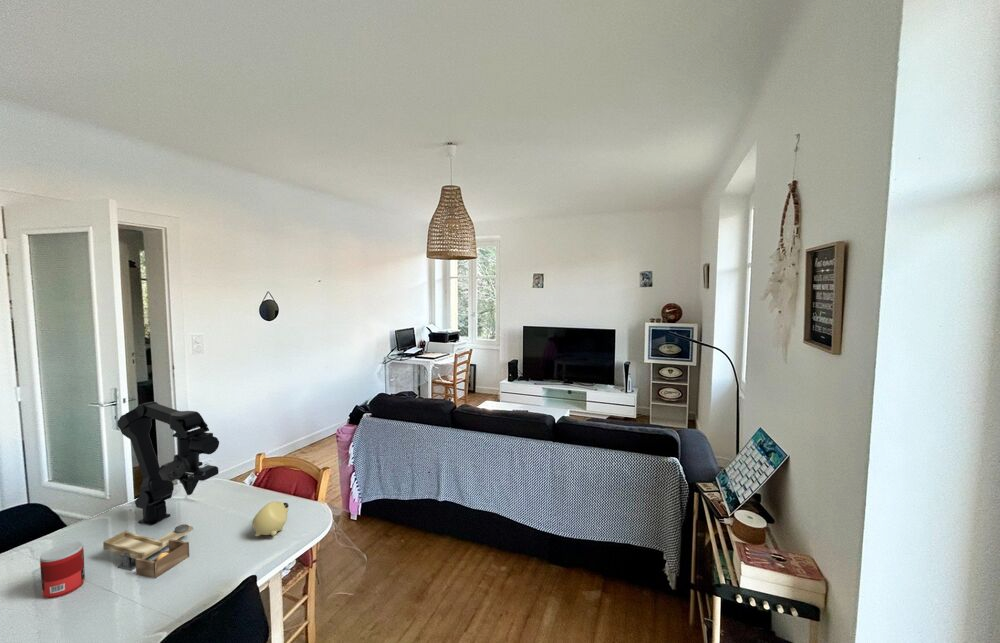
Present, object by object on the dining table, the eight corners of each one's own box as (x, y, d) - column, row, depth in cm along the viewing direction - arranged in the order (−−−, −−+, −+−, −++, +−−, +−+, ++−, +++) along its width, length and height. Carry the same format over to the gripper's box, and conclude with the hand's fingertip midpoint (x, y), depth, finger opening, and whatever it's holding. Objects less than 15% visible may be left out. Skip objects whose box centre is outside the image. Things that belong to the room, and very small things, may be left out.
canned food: (91, 582, 113) (89, 544, 112) (52, 603, 106) (50, 562, 105) (75, 575, 116) (72, 538, 115) (35, 595, 108) (33, 555, 107)
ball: (163, 566, 119) (154, 567, 120) (174, 559, 122) (165, 560, 123) (160, 556, 119) (152, 557, 120) (171, 549, 122) (163, 550, 123)
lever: (103, 549, 122) (103, 541, 122) (158, 520, 137) (158, 513, 137) (141, 560, 119) (141, 553, 118) (193, 529, 134) (194, 523, 134)
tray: (136, 574, 117) (135, 559, 117) (171, 552, 127) (170, 538, 126) (155, 578, 115) (154, 563, 115) (189, 556, 125) (188, 542, 125)
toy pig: (294, 521, 145) (294, 493, 144) (278, 542, 133) (277, 511, 132) (265, 522, 144) (265, 493, 143) (247, 543, 132) (246, 511, 131)
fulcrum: (117, 567, 119) (117, 553, 119) (148, 550, 128) (147, 536, 127) (131, 570, 118) (130, 556, 118) (160, 552, 126) (160, 539, 126)
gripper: (141, 456, 132) (142, 502, 133) (187, 462, 128) (189, 510, 129) (175, 443, 143) (176, 486, 144) (219, 449, 139) (220, 493, 140)
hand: (189, 494), depth 139 cm, fingers closed
